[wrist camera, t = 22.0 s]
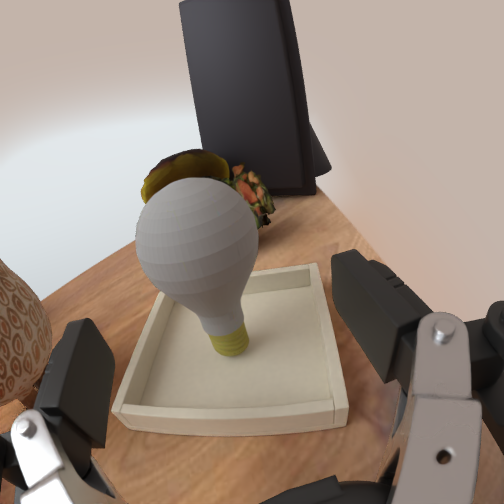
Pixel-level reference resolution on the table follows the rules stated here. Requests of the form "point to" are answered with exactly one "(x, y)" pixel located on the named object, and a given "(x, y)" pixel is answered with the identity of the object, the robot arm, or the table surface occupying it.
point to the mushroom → (215, 168)
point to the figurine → (21, 340)
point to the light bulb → (201, 254)
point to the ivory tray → (240, 366)
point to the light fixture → (252, 91)
